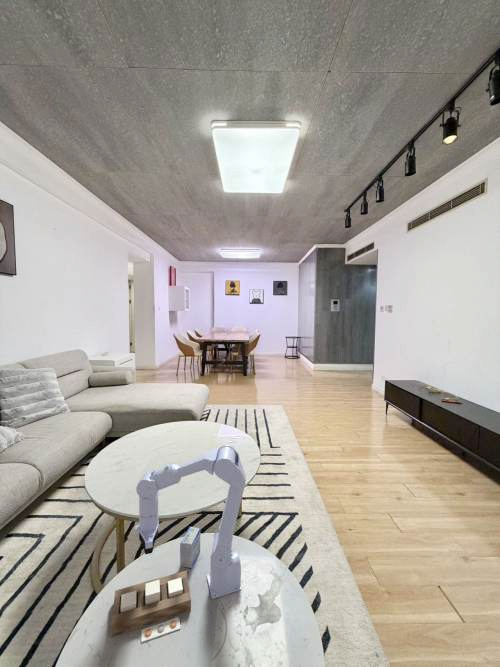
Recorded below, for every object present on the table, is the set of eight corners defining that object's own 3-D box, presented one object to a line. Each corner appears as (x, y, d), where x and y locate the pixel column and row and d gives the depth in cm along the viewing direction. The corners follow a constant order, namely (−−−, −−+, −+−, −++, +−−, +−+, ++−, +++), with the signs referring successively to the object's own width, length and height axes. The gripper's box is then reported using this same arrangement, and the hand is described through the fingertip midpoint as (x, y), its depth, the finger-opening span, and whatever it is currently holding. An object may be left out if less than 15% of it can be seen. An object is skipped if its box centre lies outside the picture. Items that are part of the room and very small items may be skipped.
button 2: (181, 587, 89) (181, 577, 88) (182, 599, 85) (182, 589, 85) (167, 591, 87) (167, 581, 87) (168, 603, 84) (168, 593, 83)
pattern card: (179, 618, 81) (179, 616, 81) (180, 629, 78) (180, 627, 78) (141, 630, 77) (141, 629, 77) (141, 642, 74) (141, 641, 74)
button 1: (136, 600, 84) (136, 590, 84) (136, 614, 80) (136, 603, 80) (121, 605, 83) (121, 594, 83) (120, 618, 79) (120, 608, 79)
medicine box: (191, 569, 96) (192, 545, 96) (179, 566, 97) (179, 542, 97) (200, 550, 104) (200, 528, 103) (189, 548, 105) (189, 525, 104)
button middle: (159, 589, 86) (159, 579, 86) (160, 601, 83) (160, 591, 82) (145, 593, 85) (145, 583, 85) (145, 606, 81) (145, 596, 81)
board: (186, 580, 92) (186, 570, 92) (190, 610, 83) (191, 599, 83) (115, 601, 85) (115, 590, 85) (111, 637, 76) (111, 625, 75)
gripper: (135, 499, 95) (136, 538, 96) (134, 531, 81) (134, 575, 82) (158, 495, 97) (157, 533, 98) (160, 525, 84) (159, 568, 85)
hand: (148, 552), depth 90 cm, fingers closed
